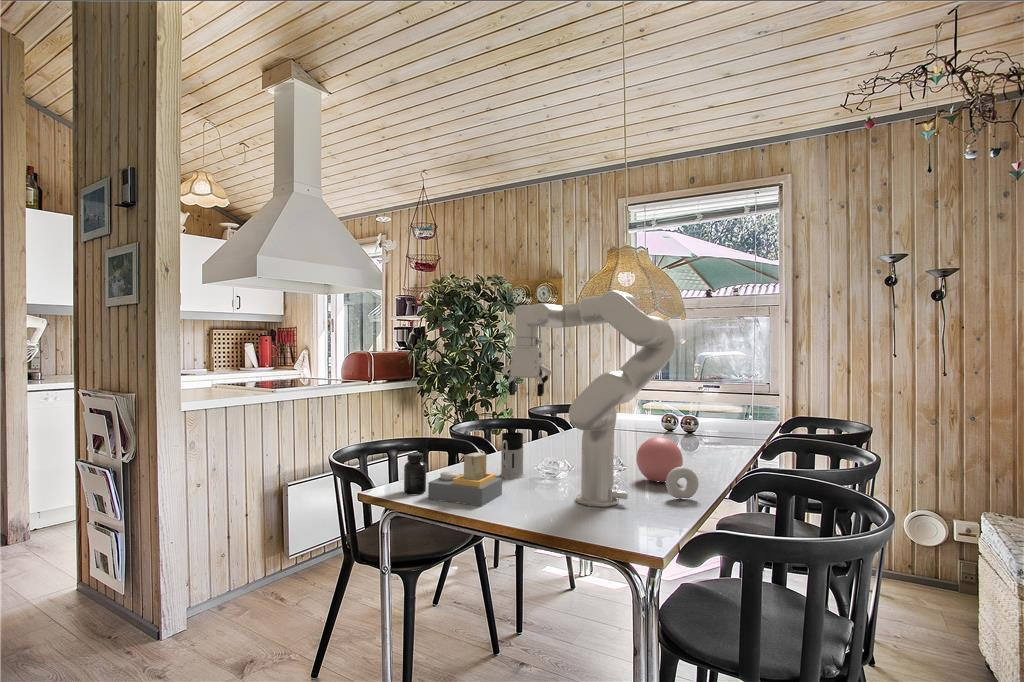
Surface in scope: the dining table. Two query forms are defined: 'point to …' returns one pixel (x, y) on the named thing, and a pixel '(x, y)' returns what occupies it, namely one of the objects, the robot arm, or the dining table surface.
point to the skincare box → (475, 466)
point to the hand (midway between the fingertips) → (526, 395)
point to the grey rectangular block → (465, 488)
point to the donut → (673, 479)
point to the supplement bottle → (415, 474)
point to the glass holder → (512, 455)
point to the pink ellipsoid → (658, 458)
